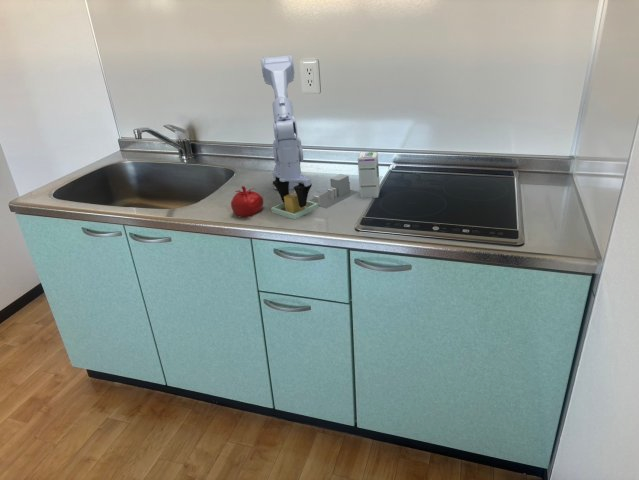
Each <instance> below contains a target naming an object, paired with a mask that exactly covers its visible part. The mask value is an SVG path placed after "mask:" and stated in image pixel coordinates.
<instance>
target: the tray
mask: <svg viewBox="0 0 639 480" xmlns="http://www.w3.org/2000/svg"><path fill="white" fill-rule="evenodd" d="M306 206H307V207H306ZM306 206H305V209H303V210H301V211H298V212H296V213H294V214H293V213H290V212H286V210H283V209H284V208H285V203H284V202H283V201H282V202H281V203H279V204H277V205H275V206H272V207H271V213H273V214H275V215H280V216H283V217H285V218H289V219H292V220H297V219H299V218H301V217H303V216H305V215H306V214H309V213H311V212H313V211H315V210H317V209H319V206H318V203H314V202H311V201H310V200H307V202H306Z"/></svg>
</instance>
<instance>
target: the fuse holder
mask: <svg viewBox="0 0 639 480" xmlns="http://www.w3.org/2000/svg"><path fill="white" fill-rule="evenodd" d="M350 183H351V182H350V181H349V189H350V192H348V193H346V194H344V195H342V196H340V197H339V196H337V190H336V188H332V187H331V186H330V188H327V192H324V193H322V194H320V195H316V194H315V195H313V196H312V198H311V199H310V200H309V201H311V202H314V203H318V208H323V209H328V208H330V207H332V206H334V205H336V204H338V203H340V202H342V201H344V200H345V199H346V200H347V198H350V197H352V196H354V195H356V194H358V193H359V191H357V190H353V189H351V184H350Z"/></svg>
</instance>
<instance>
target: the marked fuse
mask: <svg viewBox="0 0 639 480" xmlns="http://www.w3.org/2000/svg"><path fill="white" fill-rule="evenodd" d="M284 202H285V207H284V208H285V210H284V211H286V212H290V213H293V214H295V213H297V212H299V211H301V210H303V209H305V208H306V206H304V207H302V208H301V207H300V206H299V202H298V197H297V194H296V192H295V191H293V192H291V193H290V192H289V194H288V195H286V196H284Z"/></svg>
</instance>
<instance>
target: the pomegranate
mask: <svg viewBox="0 0 639 480" xmlns="http://www.w3.org/2000/svg"><path fill="white" fill-rule="evenodd" d="M240 188H241V189H242V191H241V190H234V192H235V193H236V192H237V193H236V194H234V196H233V198H232V200H231V202H230V207H231V211H232V213H233V214H234V215H235V216H236V217H239V216H240V218H248V217H254V215H256V214H258V213H259V212H261V211H263V210H262V209H263V205H264V198H263V197H262V195H260V194H259V192H256V191H251V190H252V188H250V189H248V190H247V188H246V187H245V186H244V185H241V187H240ZM256 189H257V188H254V190H256Z"/></svg>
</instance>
